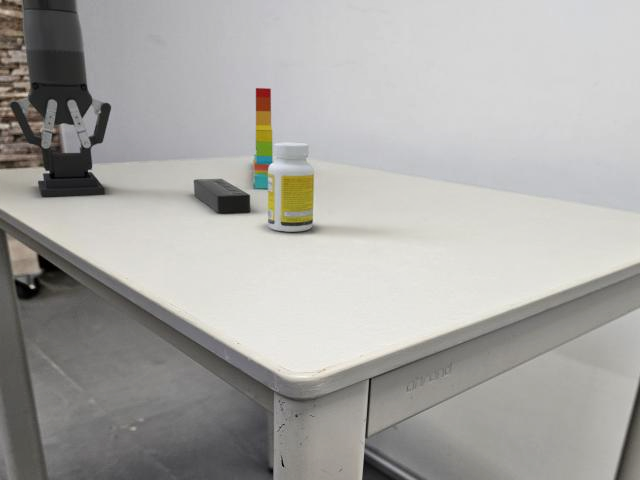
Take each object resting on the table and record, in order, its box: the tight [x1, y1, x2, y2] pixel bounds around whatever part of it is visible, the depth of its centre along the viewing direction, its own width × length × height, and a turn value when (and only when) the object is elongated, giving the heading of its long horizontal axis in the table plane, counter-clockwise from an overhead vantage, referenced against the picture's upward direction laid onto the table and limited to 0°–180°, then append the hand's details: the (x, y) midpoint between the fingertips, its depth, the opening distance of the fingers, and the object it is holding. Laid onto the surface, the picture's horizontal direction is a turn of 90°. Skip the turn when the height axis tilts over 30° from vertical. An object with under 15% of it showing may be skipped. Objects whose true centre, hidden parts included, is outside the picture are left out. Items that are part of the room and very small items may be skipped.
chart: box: [252, 87, 274, 190], centre depth 113 cm, size 30×3×15 cm, turn 6°
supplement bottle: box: [267, 141, 315, 233], centre depth 75 cm, size 5×5×10 cm
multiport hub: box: [193, 178, 251, 215], centre depth 89 cm, size 4×14×2 cm, turn 24°
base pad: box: [37, 171, 106, 198], centre depth 94 cm, size 9×9×2 cm
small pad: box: [53, 152, 85, 178], centre depth 94 cm, size 4×4×3 cm
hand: (69, 173), depth 94 cm, fingers closed on small pad, 4 cm apart
